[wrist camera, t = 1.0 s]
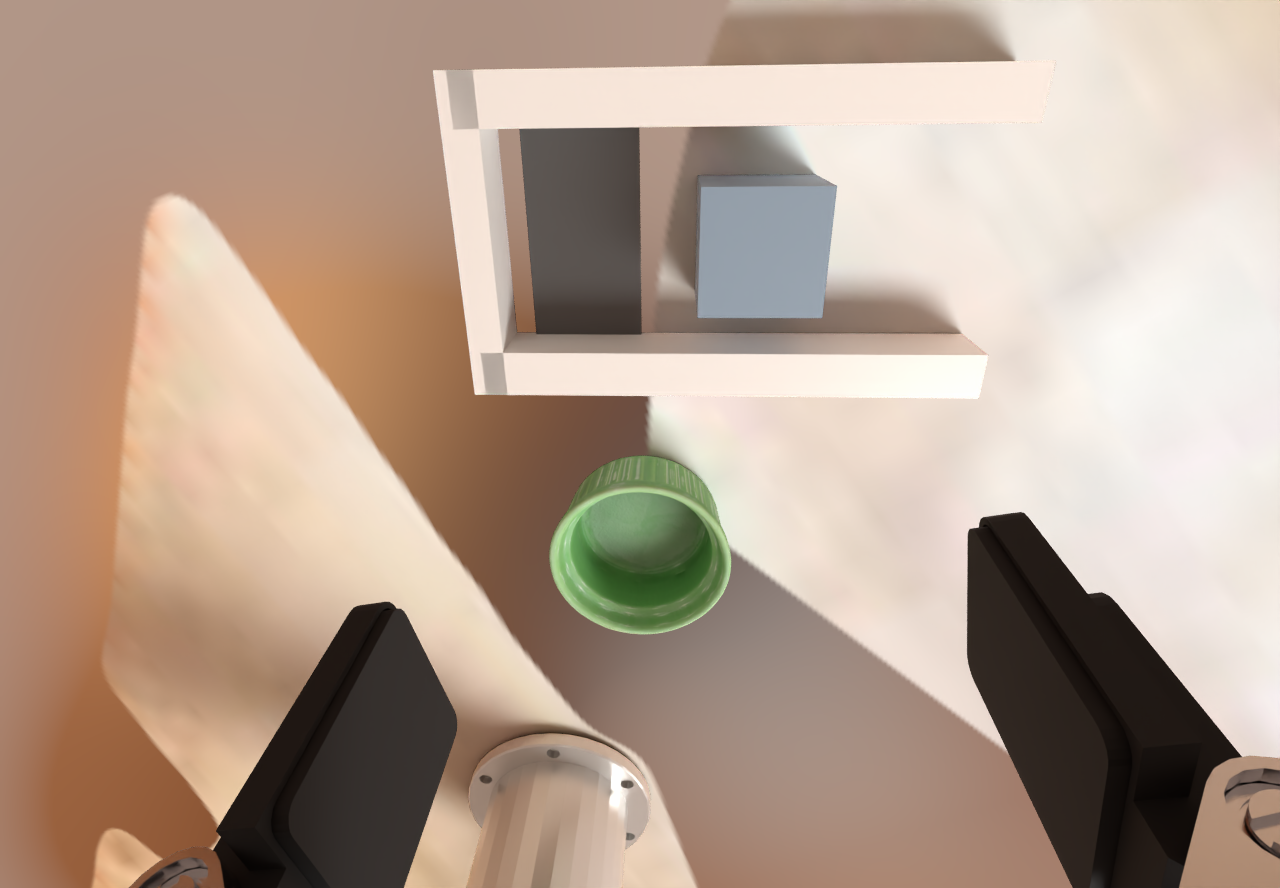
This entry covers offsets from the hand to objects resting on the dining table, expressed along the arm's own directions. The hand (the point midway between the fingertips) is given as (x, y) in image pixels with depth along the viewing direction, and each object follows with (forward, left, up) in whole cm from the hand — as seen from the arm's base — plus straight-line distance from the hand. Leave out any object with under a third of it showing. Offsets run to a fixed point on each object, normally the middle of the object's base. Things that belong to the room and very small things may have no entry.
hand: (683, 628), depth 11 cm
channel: (+2, -2, -23) cm, 23 cm away
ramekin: (-13, +2, -23) cm, 26 cm away
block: (+2, -3, -23) cm, 23 cm away
